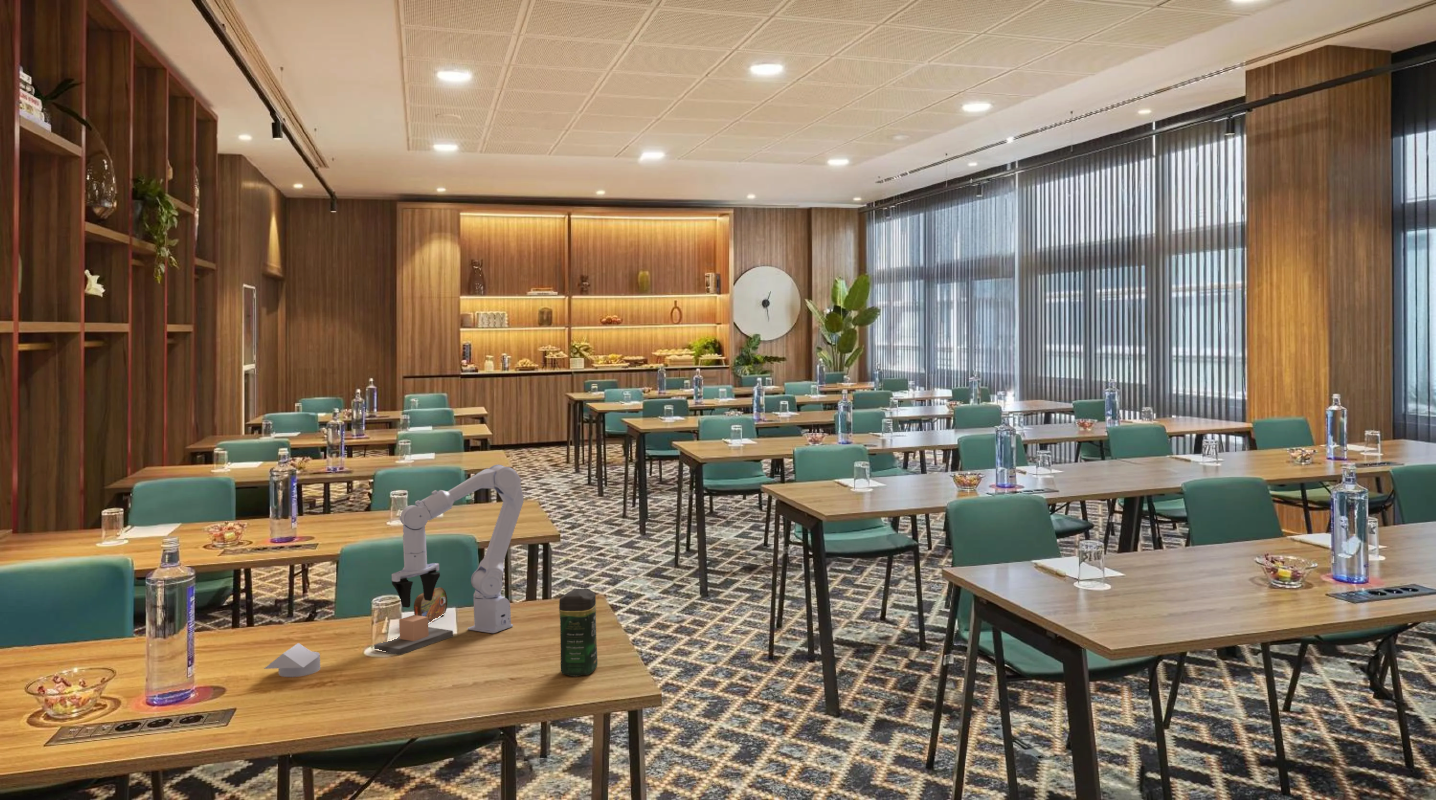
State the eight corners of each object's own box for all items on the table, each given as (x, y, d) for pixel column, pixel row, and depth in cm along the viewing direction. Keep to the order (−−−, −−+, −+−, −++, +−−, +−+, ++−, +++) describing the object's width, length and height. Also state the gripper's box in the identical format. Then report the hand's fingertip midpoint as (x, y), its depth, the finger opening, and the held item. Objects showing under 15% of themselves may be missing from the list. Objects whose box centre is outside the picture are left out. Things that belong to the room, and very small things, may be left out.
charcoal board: (453, 636, 255) (452, 630, 255) (399, 654, 240) (399, 648, 239) (428, 632, 260) (428, 626, 260) (374, 650, 244) (374, 644, 244)
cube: (428, 635, 250) (427, 616, 250) (413, 640, 246) (412, 621, 246) (414, 633, 253) (414, 614, 253) (399, 638, 249) (399, 619, 248)
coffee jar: (591, 677, 218) (589, 595, 217) (557, 677, 218) (554, 595, 218) (601, 664, 227) (599, 585, 227) (568, 664, 228) (566, 585, 227)
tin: (422, 627, 265) (421, 596, 265) (412, 627, 266) (411, 596, 266) (449, 613, 280) (447, 584, 280) (438, 613, 281) (437, 584, 280)
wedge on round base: (304, 681, 220) (326, 664, 233) (302, 652, 220) (325, 636, 233) (264, 683, 220) (288, 665, 233) (262, 653, 220) (287, 638, 233)
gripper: (424, 545, 261) (427, 595, 261) (382, 555, 248) (384, 608, 249) (444, 547, 258) (446, 598, 258) (402, 557, 245) (404, 611, 245)
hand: (417, 603), depth 253 cm, fingers open, 7 cm apart
